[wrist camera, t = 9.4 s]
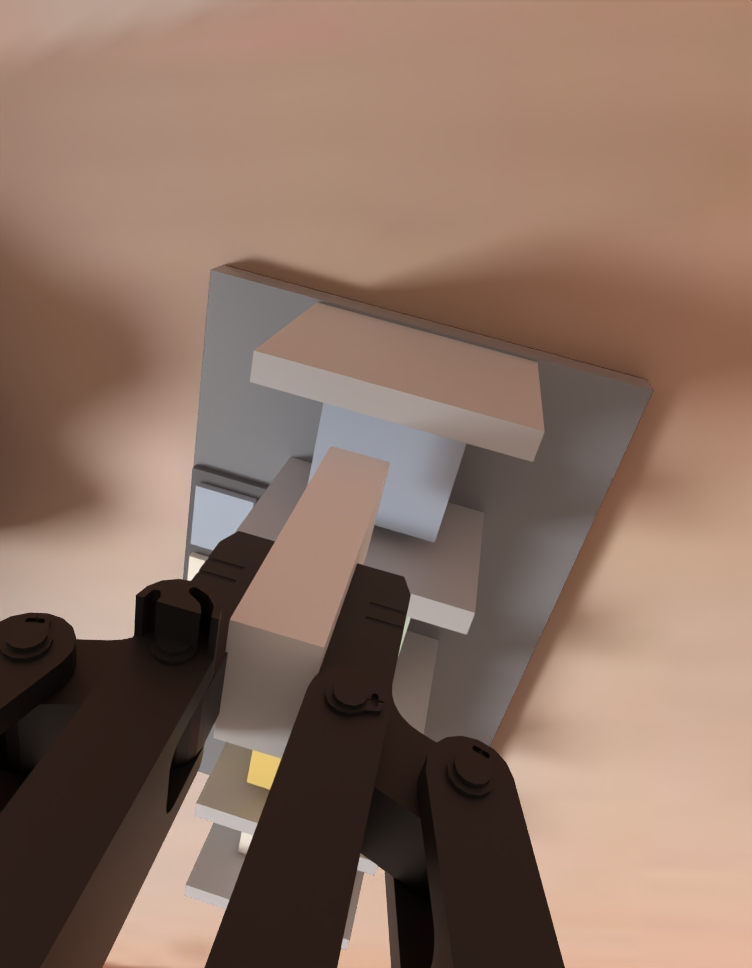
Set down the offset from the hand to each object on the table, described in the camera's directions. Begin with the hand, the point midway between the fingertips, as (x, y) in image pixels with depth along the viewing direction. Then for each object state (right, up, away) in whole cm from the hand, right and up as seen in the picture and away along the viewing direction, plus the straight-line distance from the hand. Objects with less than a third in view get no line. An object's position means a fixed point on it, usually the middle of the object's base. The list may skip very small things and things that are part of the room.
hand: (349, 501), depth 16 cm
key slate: (+1, +2, +4) cm, 5 cm away
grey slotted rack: (0, -5, +10) cm, 11 cm away
